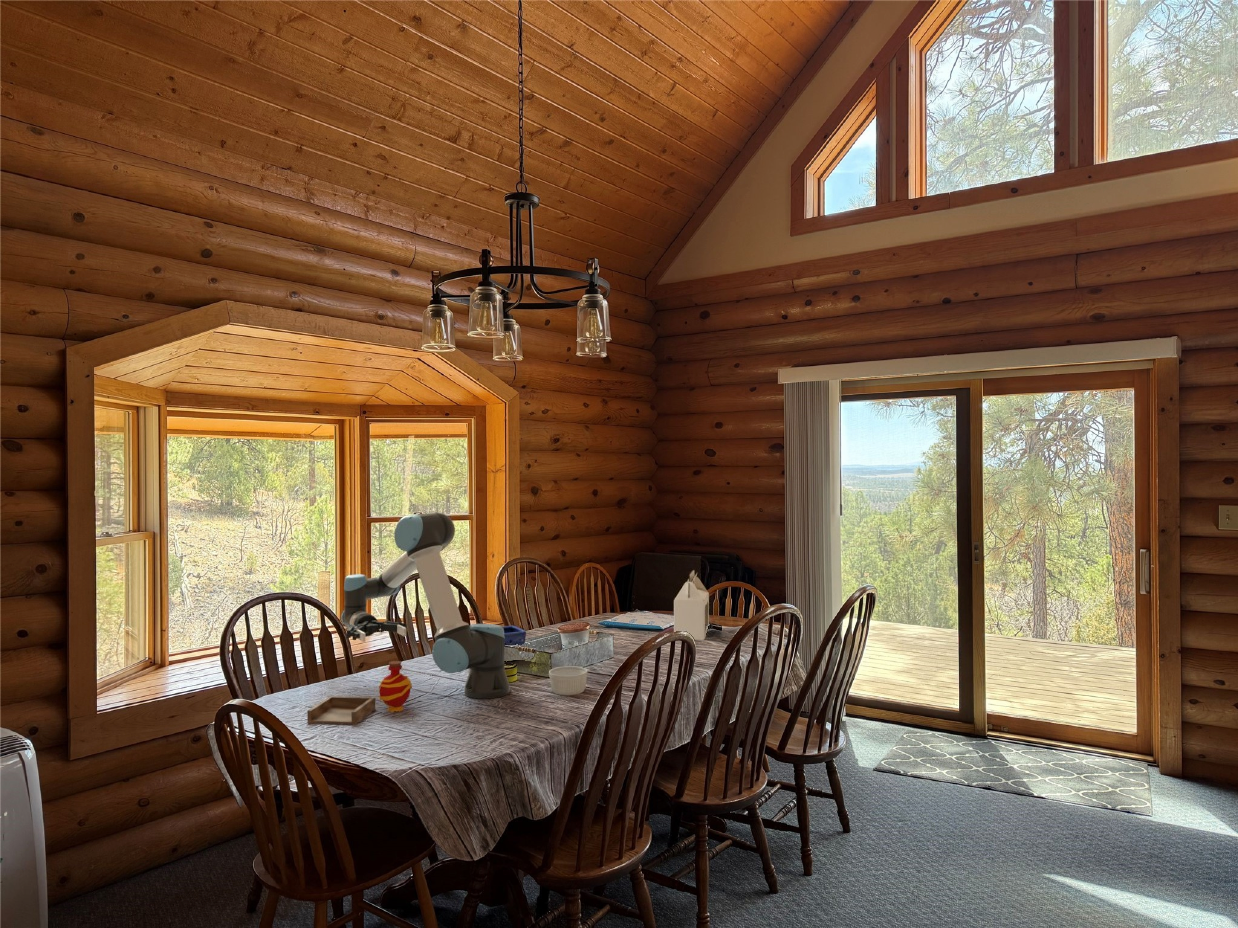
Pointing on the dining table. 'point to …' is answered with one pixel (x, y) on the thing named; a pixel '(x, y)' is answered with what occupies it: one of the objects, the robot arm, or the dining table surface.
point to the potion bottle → (395, 688)
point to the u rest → (341, 710)
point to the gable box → (692, 608)
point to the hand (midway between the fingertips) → (385, 634)
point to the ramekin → (568, 680)
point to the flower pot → (514, 635)
